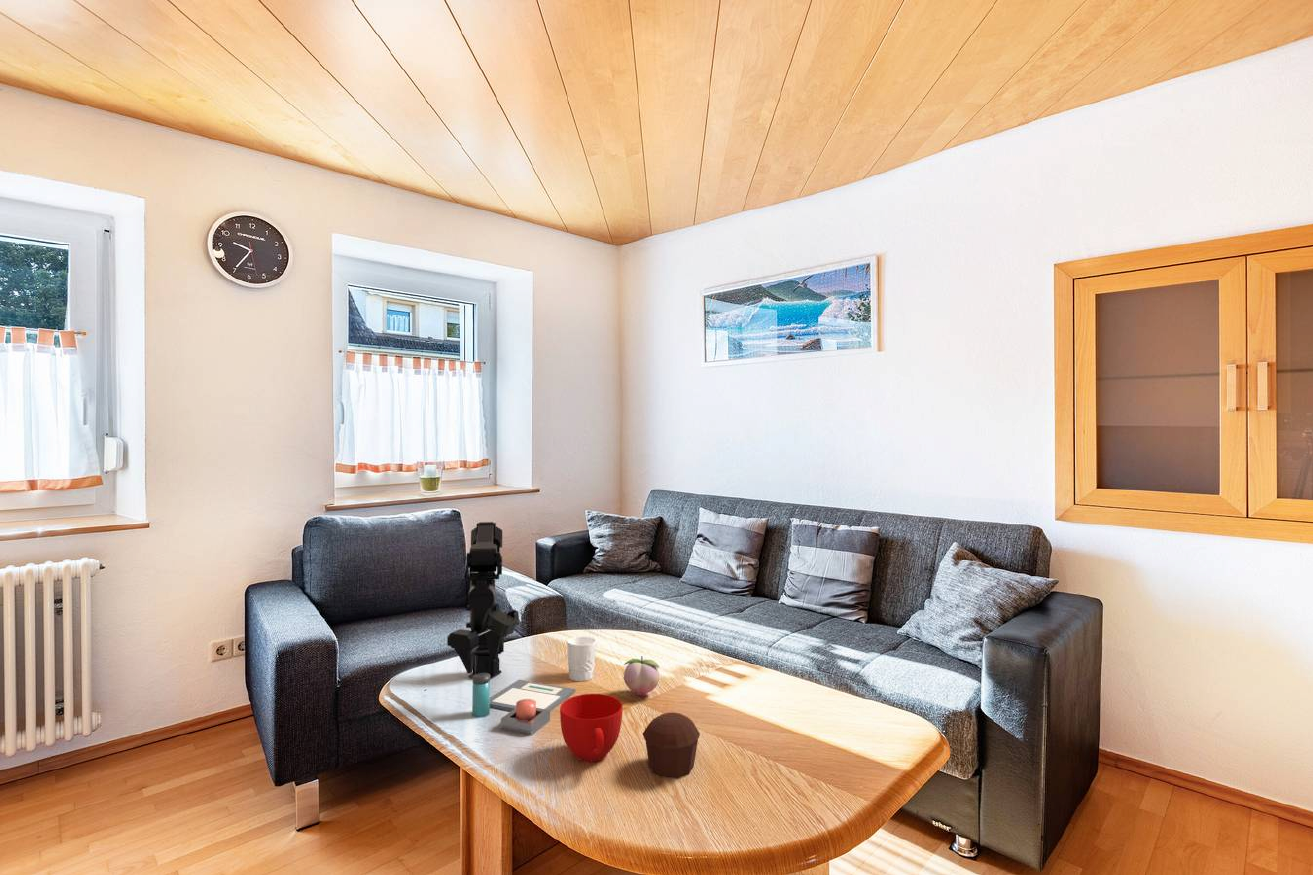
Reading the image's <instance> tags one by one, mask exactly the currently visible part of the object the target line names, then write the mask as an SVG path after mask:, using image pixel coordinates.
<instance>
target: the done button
mask: <svg viewBox="0 0 1313 875" xmlns="http://www.w3.org/2000/svg"><path fill="white" fill-rule="evenodd" d="M535 717H536V701H535V700H532V699H523V700H520V701H518V702H517V703H516V719H521V720H526V721H531V720H532V719H533V718H535Z"/></svg>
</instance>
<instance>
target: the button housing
mask: <svg viewBox="0 0 1313 875" xmlns="http://www.w3.org/2000/svg"><path fill="white" fill-rule="evenodd" d="M550 721H551V711H550V710H546V709H541V708H536V717H535V718H533V719H532V720H531V721H526V720H521V719H516V708H515V709H514V710H512V711H509V712H508V713H506V714H505V715H504V716H502V717H501V718H500V730H502V731H508V732H513V733H518V734H523V735H528V736H533V735H534V734H535V733H537V732H538V731H539V730H541V728H543V727H544V726H545V725H546V724H548V723H549V722H550Z"/></svg>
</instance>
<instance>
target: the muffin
mask: <svg viewBox="0 0 1313 875" xmlns="http://www.w3.org/2000/svg"><path fill="white" fill-rule="evenodd" d="M642 736H643V739H644V741H645V746H646V753H647V761H648V766H649V768H650V769H651V773H652V774H654V775H658V776H660V777H661V778H664V779H665V778H671V779H672V778H673V779H679V778H682V777H684V776H688V775H690V773H691V771H692V770H693V768H694V766H695V762H696V754H697V750H698V749H697V748H698V743H699V738H700V736H701V733H700V732H699V730H698V727H696V724H695V722H693V720H692V719H691V718H689V717H688V716H686V715H685V714H682V713H680V712H665V713H662V714H660V715H658V716H657V717H654V718H653V719H652V720H650V722H649V723H648V725H647V726H646V727H645V729H644V730H643V733H642Z"/></svg>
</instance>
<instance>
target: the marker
mask: <svg viewBox="0 0 1313 875" xmlns="http://www.w3.org/2000/svg"><path fill="white" fill-rule="evenodd" d="M471 678H472V680H471V681H472V702H471V703H472V706H471V707H472V708H471V714H472V715H471V716H472V717H473V718H477V719H479V718H485V717H488V716H489V715H490V713H491V712H490V711H491V709H490V708H491V707H490V697H491V679H490V674H489V673H478V674H475V675H473V677H471Z"/></svg>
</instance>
